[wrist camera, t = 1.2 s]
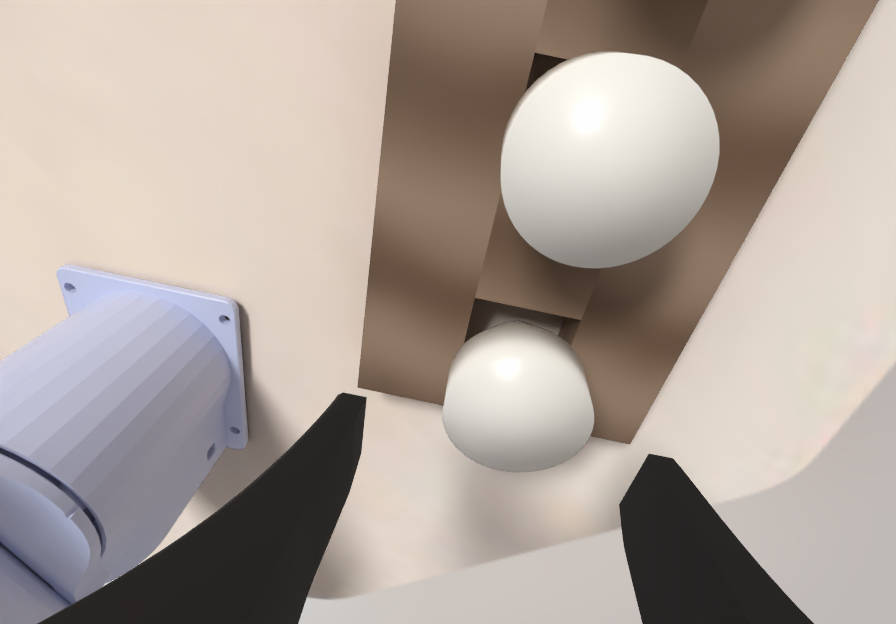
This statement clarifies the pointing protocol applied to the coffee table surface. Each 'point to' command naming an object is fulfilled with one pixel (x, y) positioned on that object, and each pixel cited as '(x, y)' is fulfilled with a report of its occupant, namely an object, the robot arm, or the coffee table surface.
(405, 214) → the brown wooden board
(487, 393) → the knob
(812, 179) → the coffee table surface
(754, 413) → the coffee table surface
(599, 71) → the knob middle
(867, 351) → the coffee table surface
